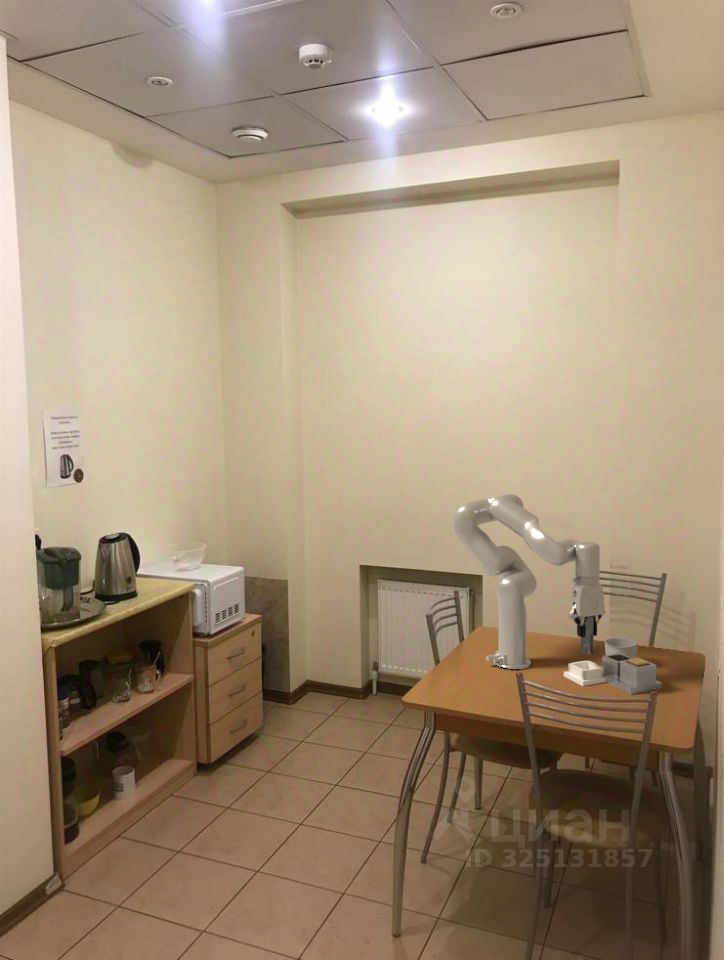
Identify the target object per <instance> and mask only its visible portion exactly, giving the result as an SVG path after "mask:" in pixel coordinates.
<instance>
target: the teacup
mask: <svg viewBox="0 0 724 960" xmlns="http://www.w3.org/2000/svg"><path fill="white" fill-rule="evenodd" d="M638 645H639V644H638V641H637V640H635V639H633V638H631V637H624V636H617V637H616V636H615V637H614V636H612V635H611V636H610V635H609V636H608V637H607V638H606V639H604V652H605V655H611V654H617V653H622V654H624V655H627V656H629V657H631V658H638Z"/></svg>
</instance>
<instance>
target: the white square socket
mask: <svg viewBox="0 0 724 960" xmlns="http://www.w3.org/2000/svg"><path fill="white" fill-rule="evenodd" d="M567 665H568V666H567V671H563V677H564V678H566V679H568V680H570V681H572V682H574V683H576V684H578V685H580V686H581V687H586V686H587V687H588V686H592V685H598V684H602V683H603V684H604V683H606V677H604V667H602V666H601V665H600V664H597V663H595V662H593V661H590V660H588V659H587V660H582V661H575V662H569V663H568V664H567Z"/></svg>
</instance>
